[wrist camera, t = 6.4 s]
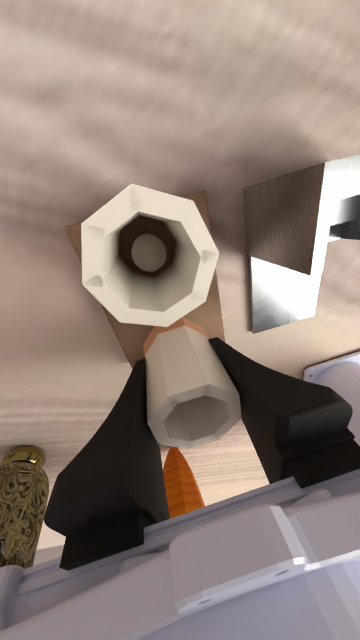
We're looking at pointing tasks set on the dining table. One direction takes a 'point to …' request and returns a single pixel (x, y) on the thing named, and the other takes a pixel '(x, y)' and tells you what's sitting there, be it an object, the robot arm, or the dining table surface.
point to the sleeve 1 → (141, 286)
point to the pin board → (150, 255)
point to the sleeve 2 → (187, 387)
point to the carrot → (180, 485)
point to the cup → (22, 505)
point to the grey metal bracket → (297, 237)
